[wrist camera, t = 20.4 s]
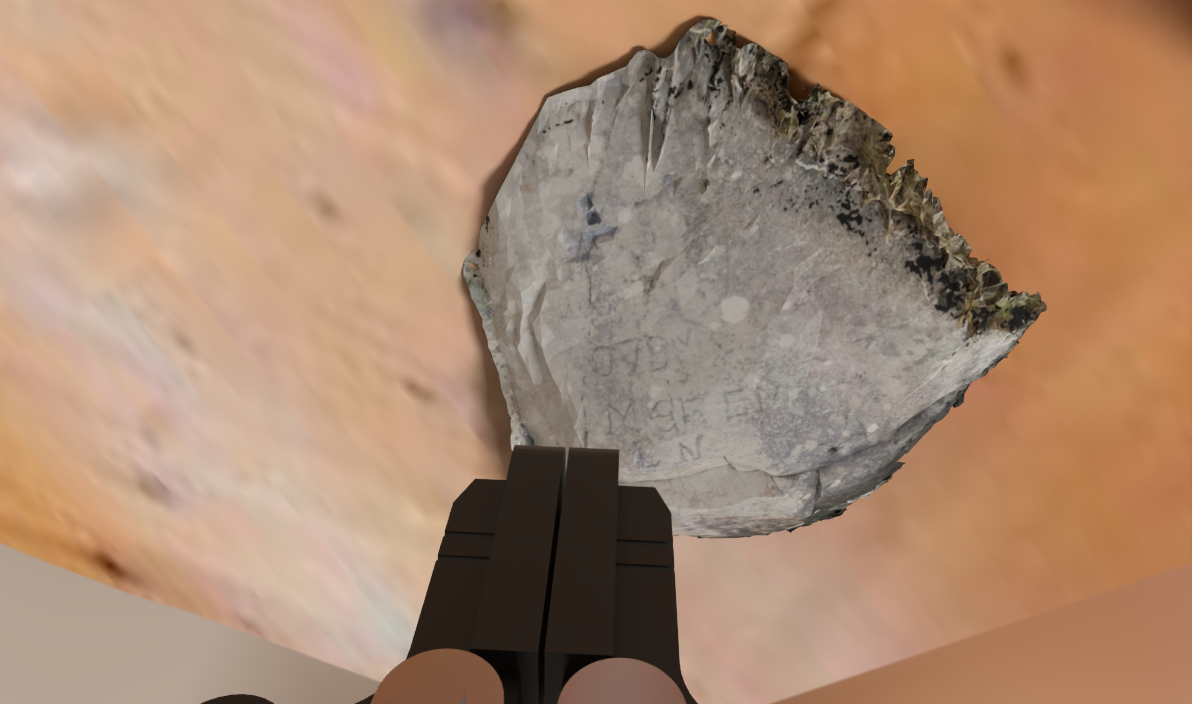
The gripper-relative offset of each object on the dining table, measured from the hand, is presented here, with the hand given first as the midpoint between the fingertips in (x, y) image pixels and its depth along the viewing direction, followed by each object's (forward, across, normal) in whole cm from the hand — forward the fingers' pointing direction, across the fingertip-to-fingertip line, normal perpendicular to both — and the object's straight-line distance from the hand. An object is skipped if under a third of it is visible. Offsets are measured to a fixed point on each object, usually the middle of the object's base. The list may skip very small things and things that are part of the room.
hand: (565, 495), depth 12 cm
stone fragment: (+30, -6, +13) cm, 33 cm away
